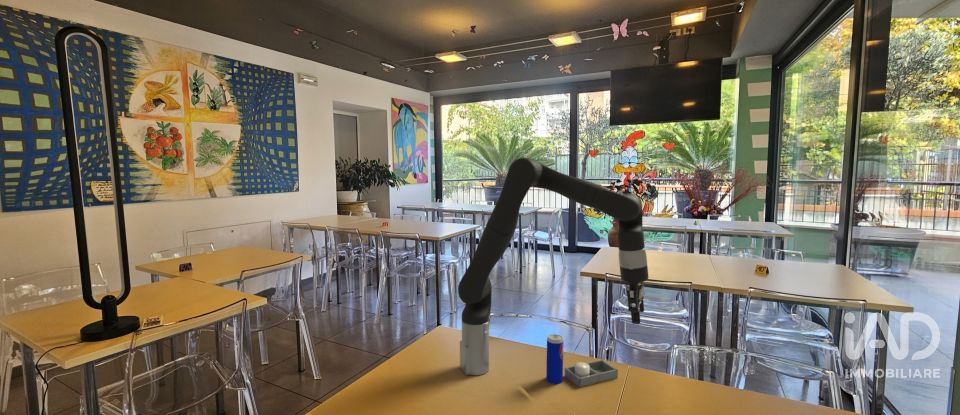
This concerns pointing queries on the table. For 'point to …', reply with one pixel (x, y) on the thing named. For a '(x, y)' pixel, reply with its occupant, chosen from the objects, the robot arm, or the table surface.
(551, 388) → the table surface
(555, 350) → the beverage can
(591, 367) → the carrier
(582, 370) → the ball
